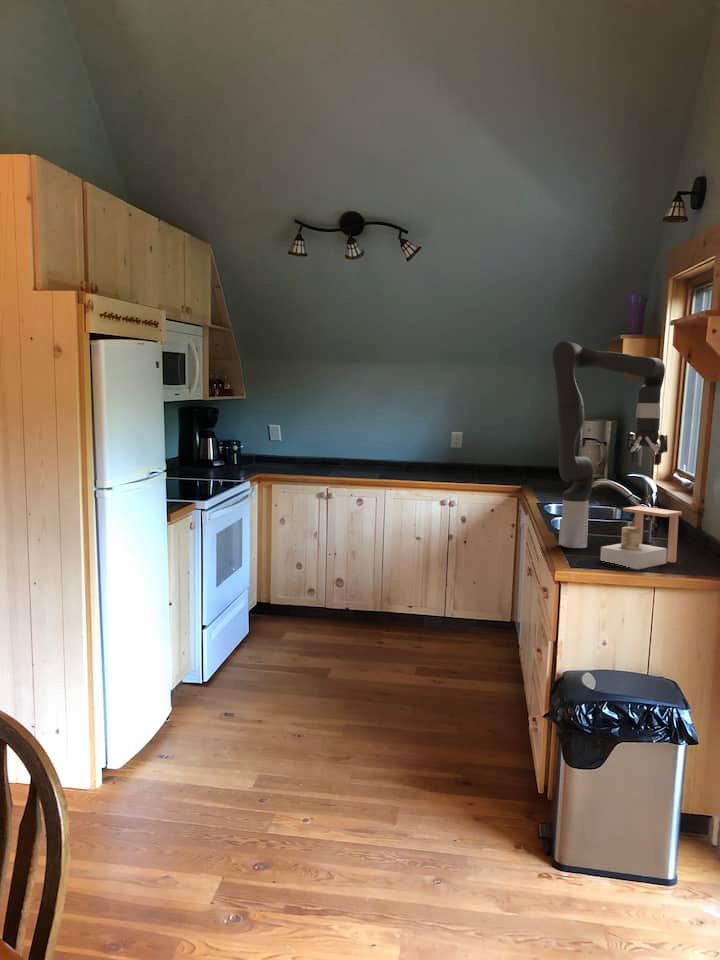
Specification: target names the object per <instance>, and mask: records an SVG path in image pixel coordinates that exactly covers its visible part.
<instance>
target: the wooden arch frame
mask: <svg viewBox="0 0 720 960" xmlns="http://www.w3.org/2000/svg"><path fill="white" fill-rule="evenodd" d="M622 511H623V512H627V513H628V512H629V513H633V514H634V517H635V526H634V527H637V528H640V537H639V544H643V543H642V537H643V517H644V514H647V515H650V516H655V517H663V518H668V517H669V520H668V521H669V522H668V523H669V524H668V537H667V538H668V540H667V556H666V563H668V562H669V563H676V562H677V550H678V533H679V532H678V530H679V517H680V516H681V515H683V512H682V511H680V510H673V509H672V510H671V509H664V508H656V507H651V506H650V507H649V506H642V505H637V506H629V507H622Z"/></svg>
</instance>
